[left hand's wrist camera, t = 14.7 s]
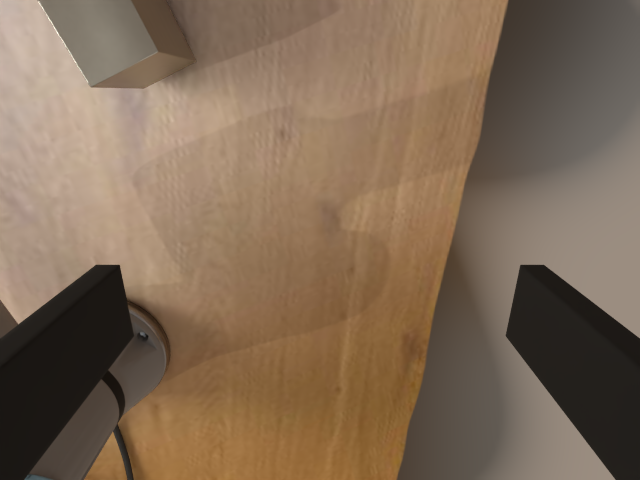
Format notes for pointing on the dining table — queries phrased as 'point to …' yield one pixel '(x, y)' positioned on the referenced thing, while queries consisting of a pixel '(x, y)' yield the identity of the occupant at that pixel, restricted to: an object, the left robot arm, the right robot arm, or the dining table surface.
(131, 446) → the dining table surface
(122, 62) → the box
